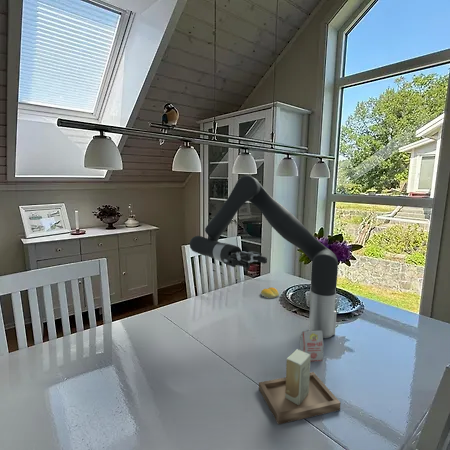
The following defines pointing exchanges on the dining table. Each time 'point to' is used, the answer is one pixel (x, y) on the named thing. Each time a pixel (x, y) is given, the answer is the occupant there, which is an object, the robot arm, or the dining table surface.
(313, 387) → the walnut tray
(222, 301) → the dining table surface
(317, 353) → the white boxy package
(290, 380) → the skincare box
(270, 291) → the bread roll
